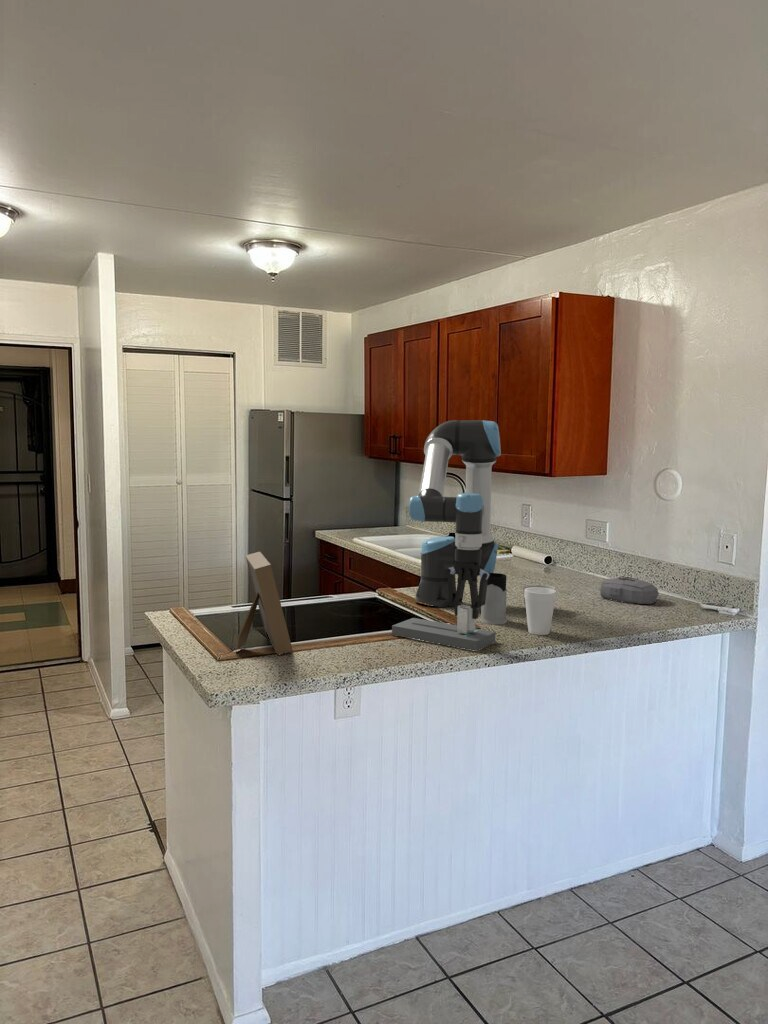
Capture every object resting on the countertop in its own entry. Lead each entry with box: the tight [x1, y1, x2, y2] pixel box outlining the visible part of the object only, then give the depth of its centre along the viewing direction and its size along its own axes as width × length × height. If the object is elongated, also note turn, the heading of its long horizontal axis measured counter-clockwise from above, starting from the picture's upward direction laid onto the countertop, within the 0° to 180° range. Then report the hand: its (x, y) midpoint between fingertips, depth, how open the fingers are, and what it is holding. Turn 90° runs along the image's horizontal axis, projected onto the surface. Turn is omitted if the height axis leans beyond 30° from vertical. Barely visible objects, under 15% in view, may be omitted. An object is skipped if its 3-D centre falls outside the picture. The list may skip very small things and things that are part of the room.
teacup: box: [522, 583, 556, 607], centre depth 265 cm, size 14×11×8 cm
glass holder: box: [479, 572, 508, 625], centre depth 250 cm, size 9×14×15 cm, turn 160°
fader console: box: [391, 617, 497, 651], centre depth 226 cm, size 28×12×3 cm, turn 56°
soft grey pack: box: [599, 575, 660, 605], centre depth 282 cm, size 15×8×20 cm
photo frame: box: [235, 551, 294, 655], centre depth 215 cm, size 15×22×25 cm
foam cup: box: [523, 587, 557, 636], centre depth 235 cm, size 10×9×13 cm
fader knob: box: [456, 604, 476, 634], centre depth 221 cm, size 3×5×7 cm, turn 146°
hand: (466, 628), depth 222 cm, fingers closed on fader knob, 3 cm apart
